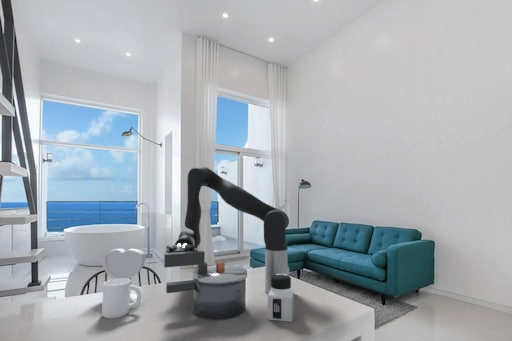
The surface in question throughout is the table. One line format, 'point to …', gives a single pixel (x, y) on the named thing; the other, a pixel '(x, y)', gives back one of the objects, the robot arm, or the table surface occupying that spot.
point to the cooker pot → (214, 298)
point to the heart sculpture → (123, 264)
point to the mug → (118, 297)
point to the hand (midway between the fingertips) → (178, 253)
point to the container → (281, 298)
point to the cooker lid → (205, 268)
